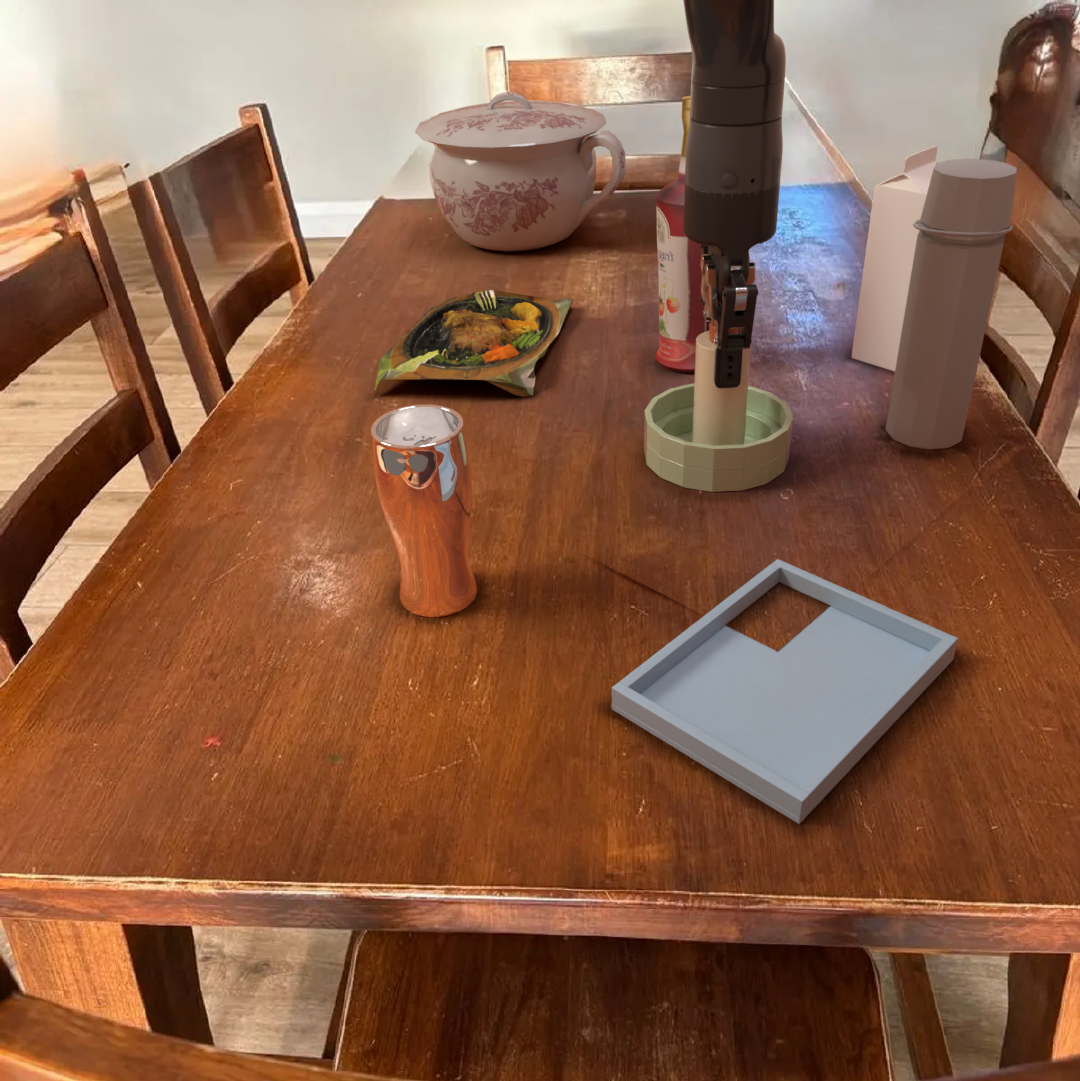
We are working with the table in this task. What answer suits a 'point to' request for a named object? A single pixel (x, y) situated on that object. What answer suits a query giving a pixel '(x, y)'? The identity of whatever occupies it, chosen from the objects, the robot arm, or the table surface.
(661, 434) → the bowl
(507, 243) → the chamber pot
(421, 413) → the beer glass
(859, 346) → the milk
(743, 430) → the bottle
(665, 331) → the liquor
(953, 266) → the water bottle
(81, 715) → the table surface
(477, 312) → the prepared meal
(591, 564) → the table surface
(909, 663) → the tray
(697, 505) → the table surface
